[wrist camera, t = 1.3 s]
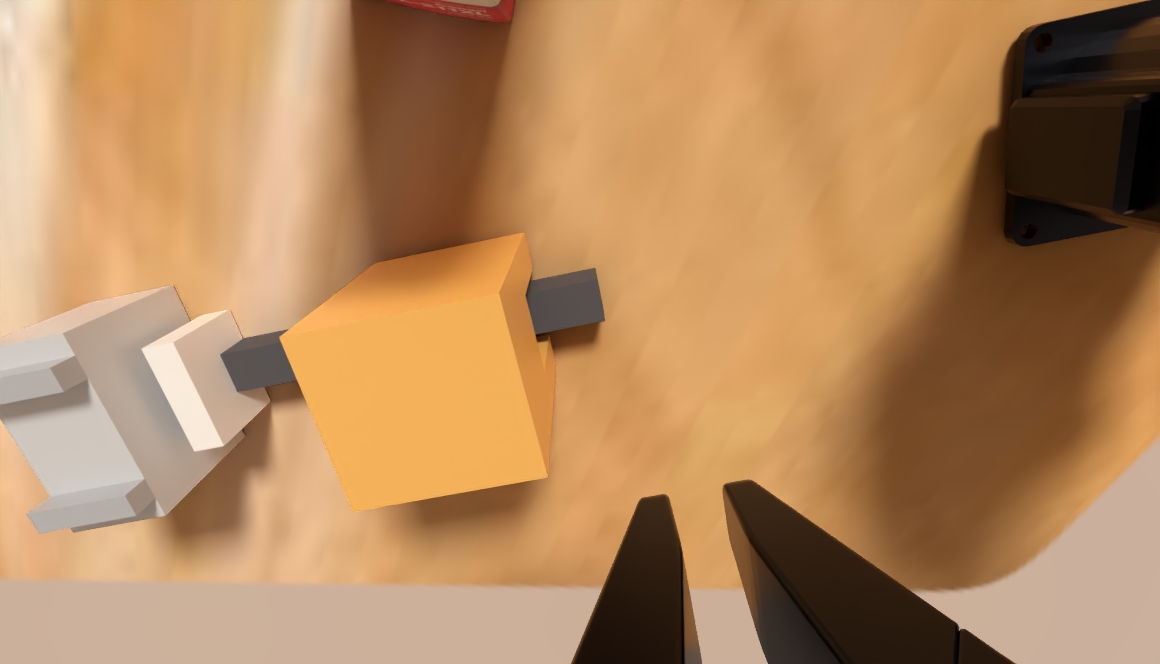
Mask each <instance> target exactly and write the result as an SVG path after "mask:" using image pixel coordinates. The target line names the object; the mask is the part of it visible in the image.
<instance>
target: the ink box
mask: <svg viewBox="0 0 1160 664" xmlns="http://www.w3.org/2000/svg"><path fill="white" fill-rule="evenodd" d="M384 1H388V2H392V3H396V4H400V5H404V6H408V7H413V8H417V9H421V10H424V11H429V12H434V13H438V14H444V15H449V16H454V17H461V18H467V19H475V20H480V21H488V22H499V23H507V22H509V21H511V19H512V16H513V9H514V3H515V0H384Z"/></svg>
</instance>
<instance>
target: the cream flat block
mask: <svg viewBox="0 0 1160 664" xmlns="http://www.w3.org/2000/svg"><path fill="white" fill-rule="evenodd" d="M242 339H243V338H242V336H241V333H240V331H239V329H238V327H237V324H236V322H235V320H234V318H233V316H232V313H231V311H230V309H229V310H224V311H219V312H214V313H210V314H205V315H201V316H200V317H198V318H196V319H194V320H192V321H191V322H189V323H187V324H185V325H183V326H182V327H180V328H178V329H176V330H174V331H172V332H171V333H169V334H167V335H165V336H163V337H162V338H160V339H158V340H156V341H154V342H153V343H151V344H149V345H147V346H145V347H144V348H142V351H143V353H144V355H145V357H146V359H147V361H148V363H149V365H150V367H151V369H152V371H153V373H154V375H155V376H156V378H157V380H158V382H159V384H160V386H161V388H162V390H163V392H164V394H165V396H166V398H167V400H168V402H169V404H170V405H171V407H172V409H173V411H174V413H175V415H176V417H177V419H178V421H179V423H180V425H181V427H182V429H183V431H184V433H185V434H186V436H187V438H188V440H189V442H190V444H191V446H192V448H193V450H194V452H195V451H200V450H206V449H211V448H216V447H222V446H225V445H226V444H227V443H228V442H229V441H230V440H231V439H232V438H233V437H234V436H235V435H236V434H237V433H238V432H239V431H240V430H241V429H242V428H243V427H244V426H245V425H247V424H248V423H249V422H250V421H251V420H252V419H253V418H254V417H255V416H256V415H257V414H258V413H259V412H260V411H261V410H262V409H263V408H264V407H265V406H266V405H267V404H268V403H269V402H270V398H269V396H268V394H267V392H266V390H265V387H262V388H257V389H252V390H247V391H241V392H237V390H236V388H235V386H234V384H233V382H232V380H231V377H230V375H229V373H228V371H227V369H226V367H225V365H224V362H223V360H222V358H221V356H220V354H221V353H223V352H224V351H226V350H227V349H229V348H230V347H232V346H233V345H234V344H236V343H237V342H239V341H240V340H242Z"/></svg>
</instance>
